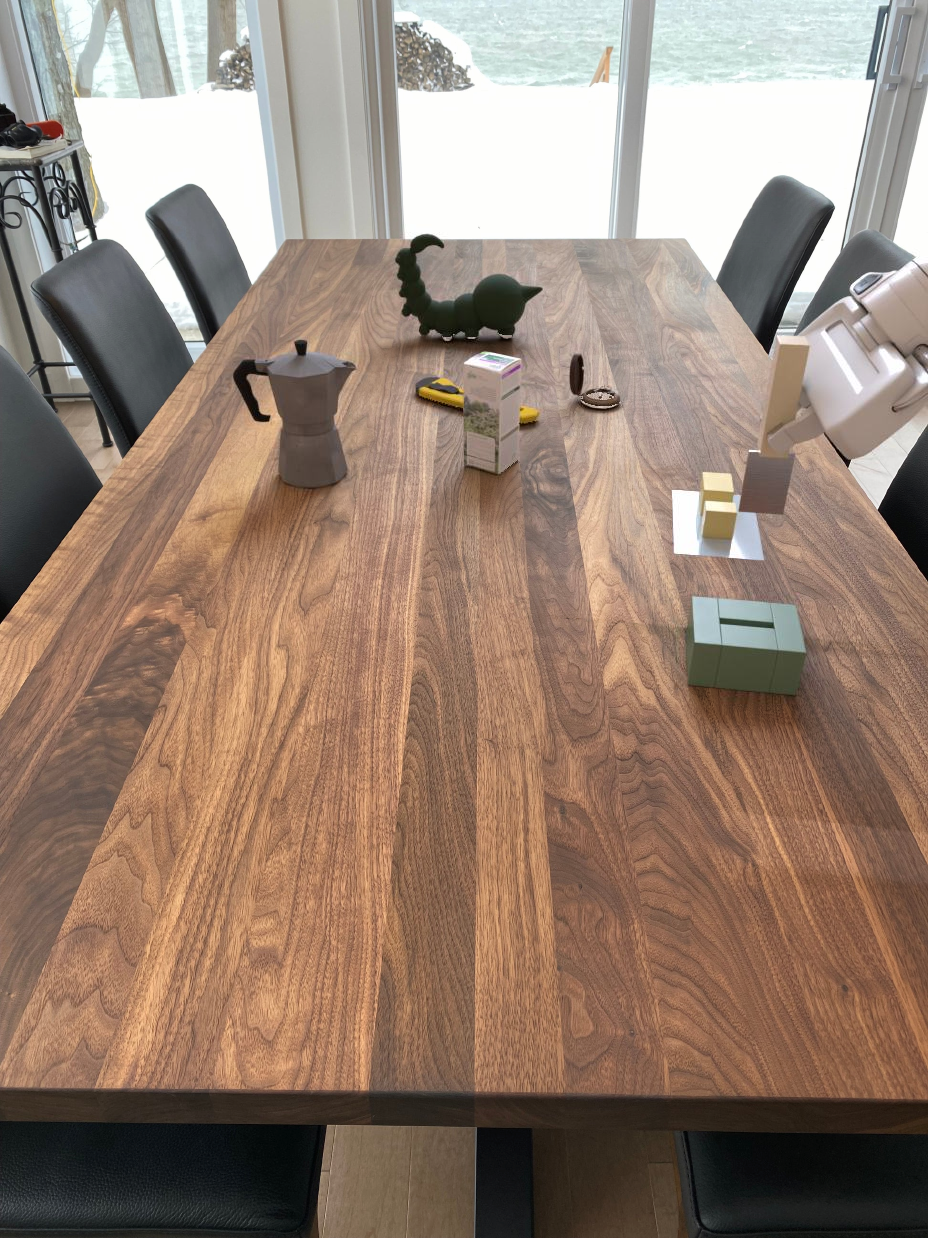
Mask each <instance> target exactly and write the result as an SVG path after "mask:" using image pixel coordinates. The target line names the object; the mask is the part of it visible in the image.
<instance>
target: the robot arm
mask: <svg viewBox="0 0 928 1238" xmlns="http://www.w3.org/2000/svg"><path fill="white" fill-rule="evenodd" d="M849 293H850V294H851V295H848V296H845V297H843V298H841V299H839V300H838V301H836V302H834V304H832V305H831V306H830V307H828V308H827V309H826V310H825V311H824V312H822V313H821V314H820V315H819V316H818V317H816V318H815V319H814V320H813V321H812V322H810V324H809V325H807V326H806V327H805V328H804V329H802V331H801V332H799V333H798V334H797V335H796V336H806V338H807V340H808V342H809V345H810V348H809V353H808V358H807V363H806V368H805V373H804V378H803V383H802V388H801V394H800V399H799V404H798V409H797V413H798V412H799V411H800V410H801V409H804V410H803V411H800V416H798V417H796V419H795V420H793V421H791V422H789V423H787V424H785V425H783V424H782V423H780V424H779V425H777V426H776V427H775V428H774V429H773V430H771V431H769V432H768V433H767V435H766V439H767V442H768V444H769V446H770V447H771V448H772V449H773V451H774V452H775V453H776V454H783V453H784V452H786V451H787V450H788V449H789V450H790V449H792V447H795V445H798V444H801V443H804V442H807V441H810V440H814V439H817V438H819V437H820V436H821V435H823V434H826V436H827V437H828V438H829V440H830V441H831V442H832V443H833V445H834V446H835V447H836V449H837V450H839V452H840V453H841V454H842V456H844V457H845V458H846V459H847V460H849V461H850V460H855V459H859V458H863V457H864V456H867V455H868V454H870V453H871V452H873V451H874V450H875V449H876V448H878V447H879V446H880V445H882V444H883V443H884V442H886V441H887V440H888V439H889V438H891V437H892V436H894V434H896V433H897V432H898V431H900V430H901V429H902V428H903V427H904V426H905V425H907V424H908V423H909V422H910V421H912V420H913V419H914V418H915V417H916V416H917V415H918V414H919V413H920V412H921V411H922V410H923V409H924V408H925V407H926V405H927V404H928V251H926V252H923V253H921V254H919V255H917V256H915V257H914V258H912V259H911V260H910V261H909V262H908V263H906V264H905V265H904V266H903V267H901V268H900V269H898V270H892V271H888V272H875V271H873V272H872V271H870V272H867V273H865V274H863V275H861V276H860V277H859V278H858V279H856V280H855V281H854V282H853V283H852V284H851V285H850V286H849ZM762 415H763V413H762V414H760V416H759V418H758V419H759V423H760V424H761V420H762Z"/></svg>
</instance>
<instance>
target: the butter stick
mask: <svg viewBox="0 0 928 1238" xmlns="http://www.w3.org/2000/svg"><path fill="white" fill-rule="evenodd" d="M698 492H699V507H700V516H703V511H704V505H705V501H715V502H729V503H732V502H733V496H734V495H735V489H734V483H733V475H732V473H726V472H725V473H724V472H709V471H701V479H700V487H699V491H698Z"/></svg>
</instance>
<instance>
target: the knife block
mask: <svg viewBox="0 0 928 1238" xmlns="http://www.w3.org/2000/svg"><path fill="white" fill-rule="evenodd" d="M684 640H685V657H686V659H685V660H686V661H685V662H686V683H687V686H694V687H704V688H714V689H715V688H716V689H724V690H732V691H733V690H734V691H745V692H754V693H764V694H776V695H784V696H785V695H787V696H796V695H797V693H798V690H799V685H800V682H801V677H802V674H803V669H804V666H805V661H806V657H807V653H808V652H807V648H806V644H805V640H804V634H803V630H802V626H801V620H800V615H799V612H798V605H797V604H790V603H778V602H767V601H756V600H744V599H733V598H723V597H722V598H720V597H718V598H717V597H707V596H696V595H691V599H690V605H689V611H688V617H687V624H686V630H685V639H684Z"/></svg>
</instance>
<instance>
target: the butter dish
mask: <svg viewBox="0 0 928 1238" xmlns="http://www.w3.org/2000/svg"><path fill="white" fill-rule="evenodd" d="M699 492H700V491H692V490H691V491H690V490H678V489H671V500H672V501H671V503H672V528H673V529H672V530H673V531H672V533H673V554H674V555H688V556H698V557H710V558H711V557H713V558H723V559H736V560H737V559H739V560H748V561H761V562H765V556H764V551H763V545H762V539H761V533H760V527H759V522H758V517H757V513H749V512H738V509H739V503H740V497H741V494H734V496H733V502H732V503H736V509H737V517H736V522H735V528H734V534H733V539H722V538H709V537H702V532H701V524H702V518H703V516H700V507H699Z"/></svg>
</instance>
